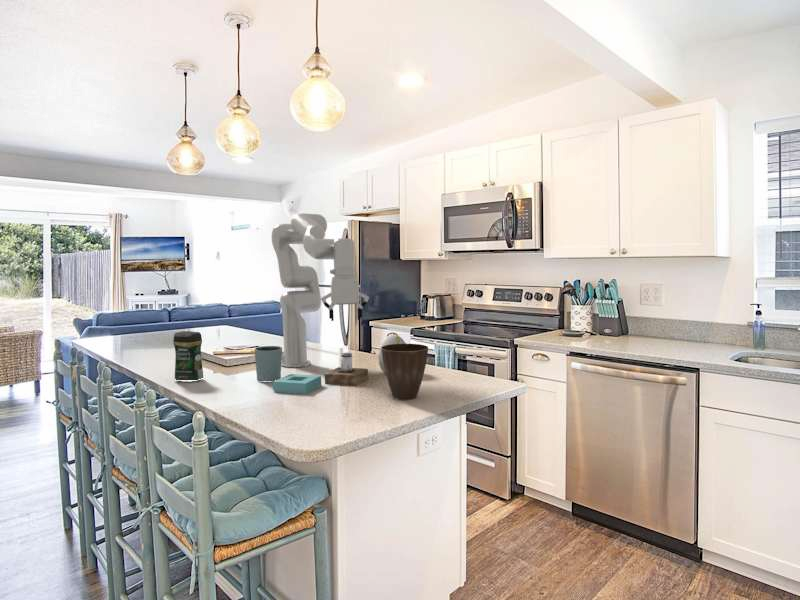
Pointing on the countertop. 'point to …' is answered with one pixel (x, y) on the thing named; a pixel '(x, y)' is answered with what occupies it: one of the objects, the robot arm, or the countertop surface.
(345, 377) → the mount block
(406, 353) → the plant pot
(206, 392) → the countertop surface
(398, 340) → the decorative egg
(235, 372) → the countertop surface
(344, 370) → the pin
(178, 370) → the coffee jar
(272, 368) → the grey-blue cup
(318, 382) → the socket block
